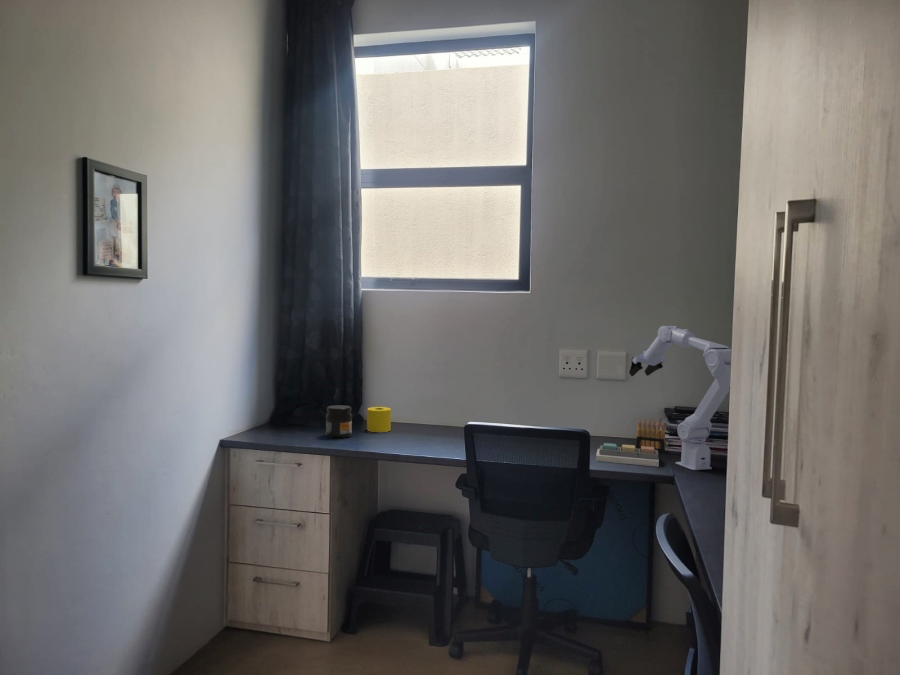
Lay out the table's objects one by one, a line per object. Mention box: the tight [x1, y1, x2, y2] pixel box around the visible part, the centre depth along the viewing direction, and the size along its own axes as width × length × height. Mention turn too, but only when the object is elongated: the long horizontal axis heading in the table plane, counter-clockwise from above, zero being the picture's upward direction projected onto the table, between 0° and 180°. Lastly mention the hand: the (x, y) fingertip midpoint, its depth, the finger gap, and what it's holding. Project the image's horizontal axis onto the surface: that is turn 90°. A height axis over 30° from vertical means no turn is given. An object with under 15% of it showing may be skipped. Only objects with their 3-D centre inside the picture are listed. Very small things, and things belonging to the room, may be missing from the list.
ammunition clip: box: [635, 418, 666, 453], centre depth 237 cm, size 11×2×12 cm, turn 64°
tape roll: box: [366, 406, 392, 433], centre depth 262 cm, size 10×10×9 cm
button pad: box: [595, 445, 660, 468], centre depth 220 cm, size 21×11×4 cm, turn 74°
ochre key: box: [621, 444, 636, 452], centre depth 220 cm, size 4×4×2 cm
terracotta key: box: [641, 446, 654, 454], centre depth 218 cm, size 4×4×2 cm
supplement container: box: [325, 404, 353, 439], centre depth 249 cm, size 10×10×12 cm
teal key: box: [602, 442, 617, 450], centre depth 222 cm, size 4×4×2 cm
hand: (638, 374), depth 239 cm, fingers open, 7 cm apart
